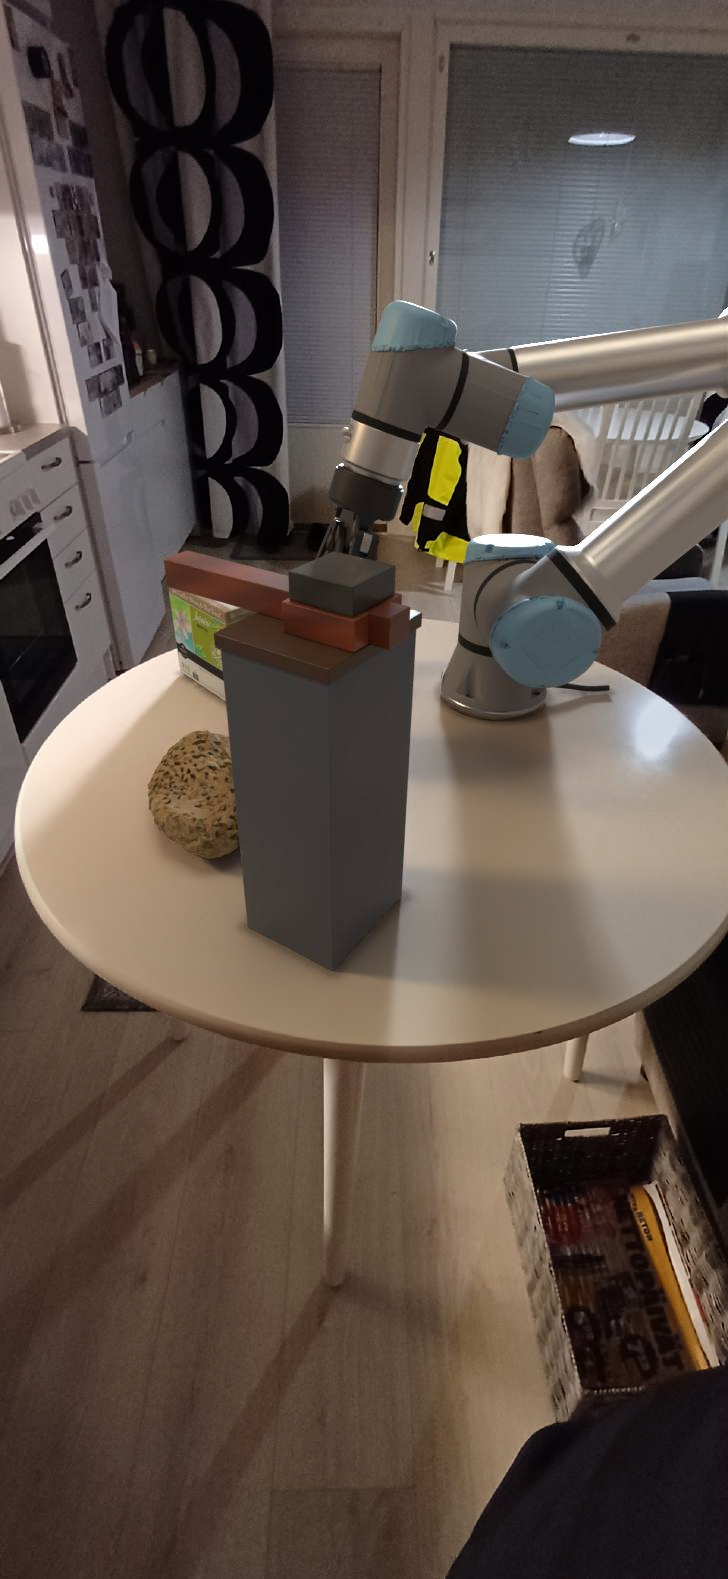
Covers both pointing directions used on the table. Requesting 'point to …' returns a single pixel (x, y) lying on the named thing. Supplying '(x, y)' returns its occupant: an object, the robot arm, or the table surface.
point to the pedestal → (318, 781)
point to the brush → (306, 596)
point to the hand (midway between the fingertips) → (313, 658)
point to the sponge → (196, 795)
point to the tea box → (202, 636)
